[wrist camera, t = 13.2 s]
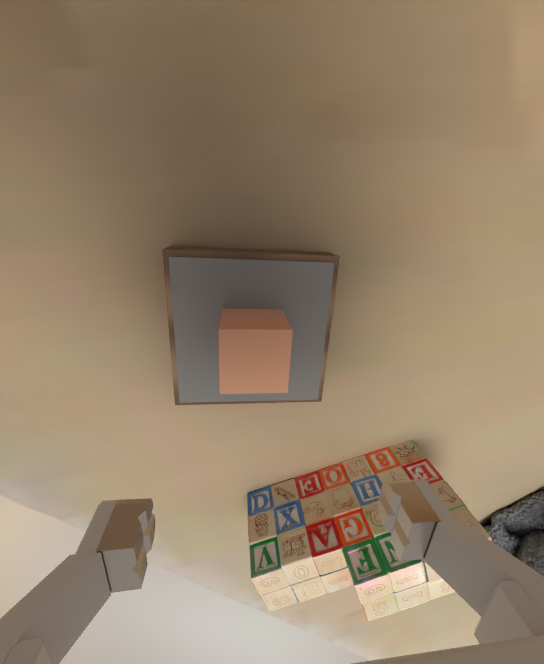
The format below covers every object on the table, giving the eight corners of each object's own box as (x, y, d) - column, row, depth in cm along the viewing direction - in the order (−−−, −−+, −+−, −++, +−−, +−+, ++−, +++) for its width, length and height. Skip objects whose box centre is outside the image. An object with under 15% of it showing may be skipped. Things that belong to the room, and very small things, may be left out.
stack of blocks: (261, 524, 38) (272, 654, 27) (246, 491, 36) (250, 619, 24) (417, 473, 38) (496, 582, 27) (412, 437, 36) (495, 540, 24)
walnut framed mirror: (169, 246, 25) (161, 249, 22) (330, 252, 26) (341, 256, 24) (180, 390, 30) (174, 407, 27) (314, 387, 31) (322, 403, 28)
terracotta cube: (222, 308, 24) (218, 329, 19) (282, 309, 25) (292, 329, 20) (222, 363, 26) (219, 394, 21) (278, 362, 26) (287, 392, 22)
